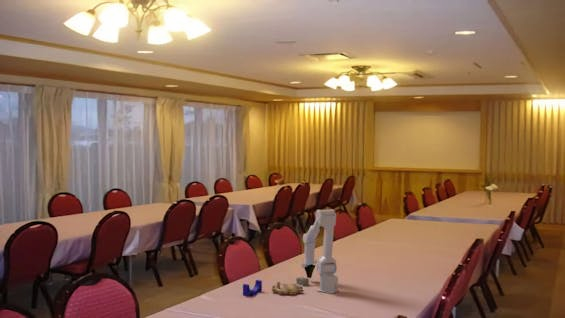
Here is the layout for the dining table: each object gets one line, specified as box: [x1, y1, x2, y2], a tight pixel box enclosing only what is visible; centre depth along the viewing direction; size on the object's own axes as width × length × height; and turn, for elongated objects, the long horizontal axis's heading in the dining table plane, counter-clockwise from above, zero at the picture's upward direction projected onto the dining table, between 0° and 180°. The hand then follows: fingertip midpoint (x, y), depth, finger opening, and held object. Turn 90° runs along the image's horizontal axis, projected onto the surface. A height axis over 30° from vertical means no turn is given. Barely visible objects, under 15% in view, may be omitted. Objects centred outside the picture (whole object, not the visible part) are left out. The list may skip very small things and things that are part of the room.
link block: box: [295, 276, 310, 287], centre depth 315 cm, size 6×4×4 cm, turn 38°
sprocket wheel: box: [271, 281, 304, 296], centre depth 301 cm, size 17×17×5 cm
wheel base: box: [275, 292, 299, 296], centre depth 301 cm, size 13×13×1 cm
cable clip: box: [242, 279, 263, 297], centre depth 296 cm, size 12×4×6 cm, turn 143°
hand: (309, 277), depth 322 cm, fingers closed
